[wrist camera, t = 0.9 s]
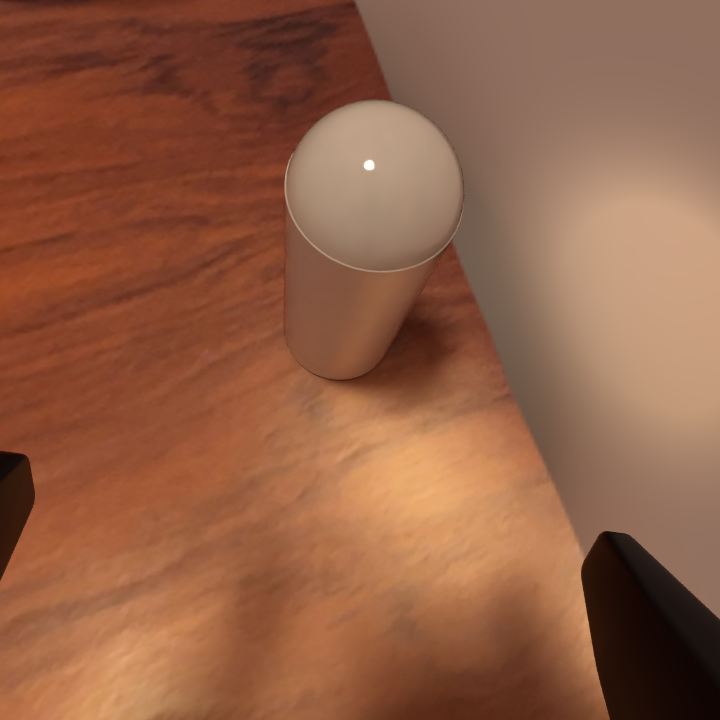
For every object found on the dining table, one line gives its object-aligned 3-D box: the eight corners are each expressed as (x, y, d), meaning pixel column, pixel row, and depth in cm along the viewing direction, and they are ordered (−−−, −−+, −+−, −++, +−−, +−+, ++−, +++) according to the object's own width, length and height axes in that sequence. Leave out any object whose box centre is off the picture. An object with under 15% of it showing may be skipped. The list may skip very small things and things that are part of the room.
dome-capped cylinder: (393, 380, 25) (498, 238, 13) (283, 379, 25) (282, 228, 12) (389, 279, 27) (481, 62, 14) (284, 276, 26) (285, 47, 14)
